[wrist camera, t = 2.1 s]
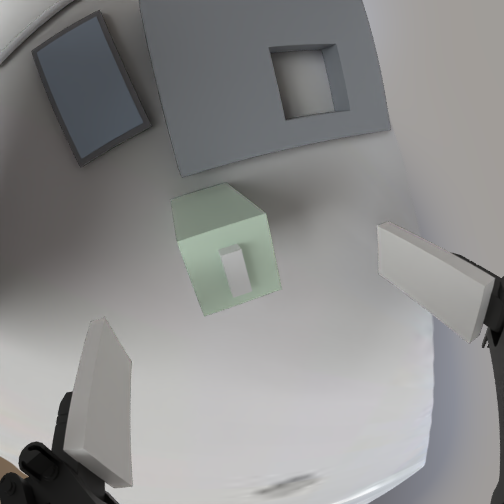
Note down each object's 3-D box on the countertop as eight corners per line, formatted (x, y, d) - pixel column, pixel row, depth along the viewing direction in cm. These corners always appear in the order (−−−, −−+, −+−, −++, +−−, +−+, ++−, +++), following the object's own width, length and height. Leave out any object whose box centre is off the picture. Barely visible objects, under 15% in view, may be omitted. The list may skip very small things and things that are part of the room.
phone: (83, 166, 19) (80, 167, 18) (34, 53, 14) (30, 50, 13) (151, 126, 20) (151, 126, 19) (101, 13, 15) (99, 9, 14)
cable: (-5, 71, 13) (-10, 70, 12) (-8, 65, 13) (-13, 63, 12) (123, -29, 13) (122, -34, 13) (118, -34, 13) (117, -39, 12)
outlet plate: (179, 173, 22) (181, 177, 20) (140, 10, 16) (138, -2, 13) (374, 128, 25) (390, 130, 23) (343, -6, 19) (357, -14, 17)
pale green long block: (187, 251, 24) (206, 324, 15) (170, 199, 22) (177, 247, 13) (239, 234, 25) (287, 296, 16) (226, 182, 23) (271, 217, 14)
